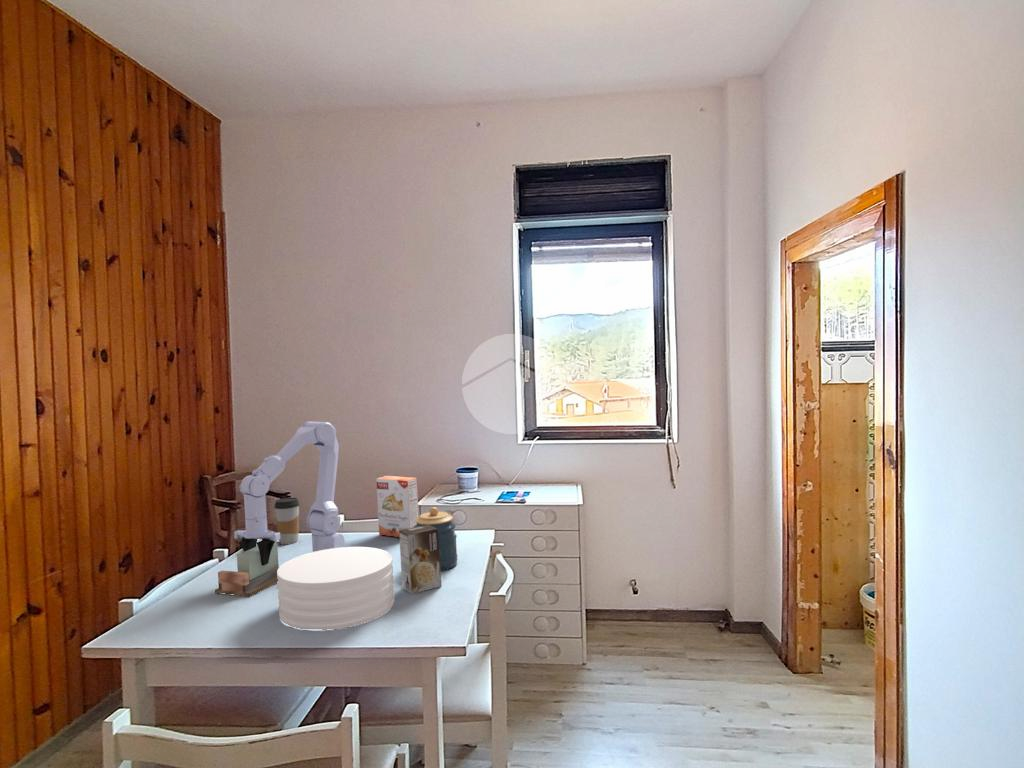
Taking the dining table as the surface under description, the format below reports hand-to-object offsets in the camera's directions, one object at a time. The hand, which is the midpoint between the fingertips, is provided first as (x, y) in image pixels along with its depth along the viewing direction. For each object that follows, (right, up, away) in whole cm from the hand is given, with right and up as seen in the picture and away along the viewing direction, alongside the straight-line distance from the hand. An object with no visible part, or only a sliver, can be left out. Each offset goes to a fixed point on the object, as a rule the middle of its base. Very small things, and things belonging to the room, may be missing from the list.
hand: (258, 563), depth 179 cm
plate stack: (+29, -5, -21) cm, 36 cm away
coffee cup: (-6, -4, +40) cm, 41 cm away
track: (0, -5, 0) cm, 5 cm away
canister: (+50, -3, +8) cm, 51 cm away
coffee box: (+48, -4, -10) cm, 50 cm away
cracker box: (+33, -3, +42) cm, 54 cm away
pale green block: (0, -3, 0) cm, 3 cm away
